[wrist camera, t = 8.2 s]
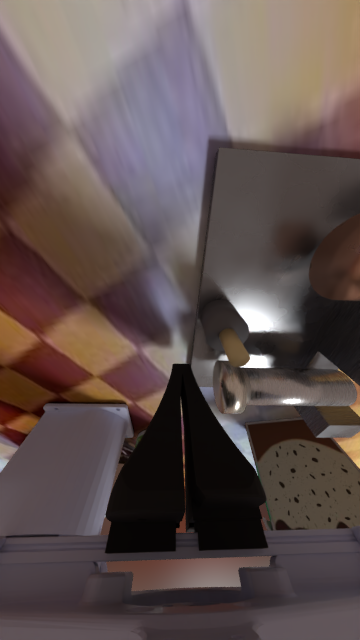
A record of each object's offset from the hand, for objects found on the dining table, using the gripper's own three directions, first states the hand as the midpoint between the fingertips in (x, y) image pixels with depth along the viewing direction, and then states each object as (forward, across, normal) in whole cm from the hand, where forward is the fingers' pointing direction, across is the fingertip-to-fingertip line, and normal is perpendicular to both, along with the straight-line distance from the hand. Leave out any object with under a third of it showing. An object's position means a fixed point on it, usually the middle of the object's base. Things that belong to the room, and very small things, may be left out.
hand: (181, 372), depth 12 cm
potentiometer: (+2, -3, -4) cm, 5 cm away
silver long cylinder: (+1, -7, 0) cm, 7 cm away
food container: (+2, -15, +15) cm, 21 cm away
